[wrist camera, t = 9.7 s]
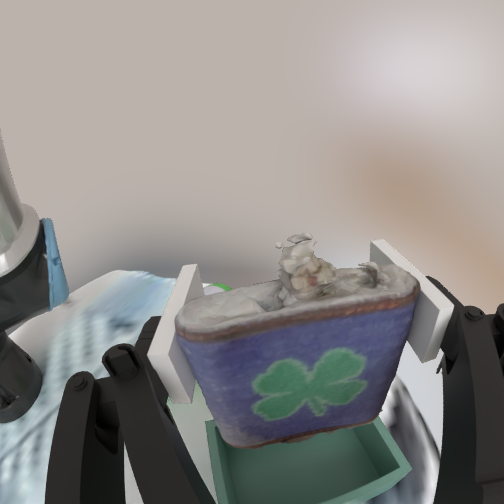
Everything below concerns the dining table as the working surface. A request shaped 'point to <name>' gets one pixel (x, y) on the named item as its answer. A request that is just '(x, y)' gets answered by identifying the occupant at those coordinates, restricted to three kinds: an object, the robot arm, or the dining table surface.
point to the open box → (308, 468)
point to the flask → (299, 347)
